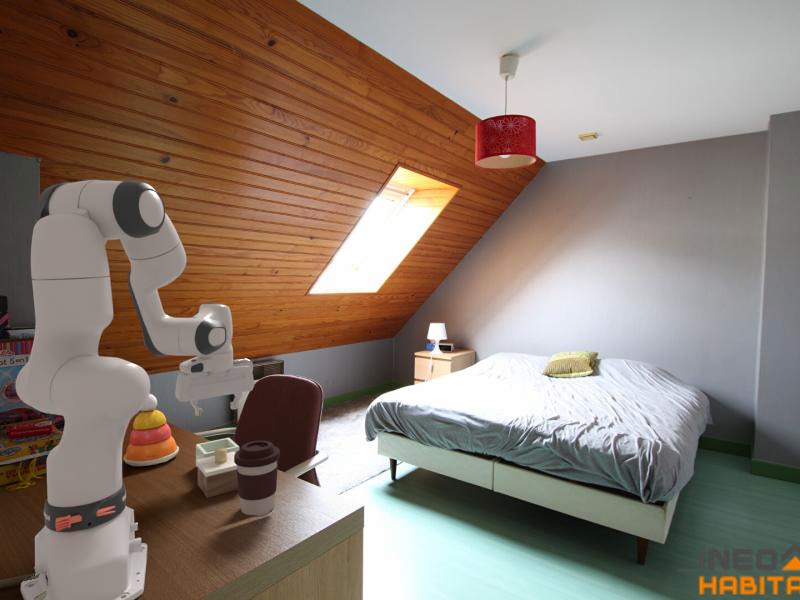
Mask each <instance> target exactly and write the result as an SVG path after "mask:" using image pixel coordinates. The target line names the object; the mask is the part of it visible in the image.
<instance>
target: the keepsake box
mask: <svg viewBox="0 0 800 600" xmlns="http://www.w3.org/2000/svg"><path fill="white" fill-rule="evenodd" d="M196 469H197V485H198V487H199V489H200V490H201V491H202V493H203V494H204V495H205V497H206V498H207V499H209V498H212V497H215V496H219V495H222V494H223V495H224V494H226V493H230V492H234V491H238V480H237V469H236V470H232V471H228V472H224V473H220V474H216V475H212V476H208V477H206V476H205V475H204V474H203V473H202V471H201V470H200V469H199V467H198V466H197V467H196Z"/></svg>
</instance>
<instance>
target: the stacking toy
mask: <svg viewBox="0 0 800 600" xmlns="http://www.w3.org/2000/svg"><path fill="white" fill-rule="evenodd" d="M157 407H158V400H157V397H156V396H155V395H153V394H152V393H150V394H149V397H148V400H147V402H146V403H145V405H144V406H143V408H142V409H141V410H140V411H141V412H140V413H138V415H136V417H135V418H134V421H133V424H132V428H133V429H132V430H131V432H130V435H129V444H128V446H127V448H126V453H125V454H124V456H123V461H124V463H125V464H127V465H129V466H131V467H145V466H146V467H147V466H152V465H154V466H155V465H158V464H161V463H162V464H163V463H166V462H168V461H170V460H171V459H173V458H174V457H176V456H177V455H178V453H179V450H180V447H179V446H178V445H177V443H176V440H175V439H174V437H173V436H172V430H171V428H170V426H169V424H168V423H167V418H166V416H165V414H164V413H163V412H162V411H160V410H158V409H156V408H157Z"/></svg>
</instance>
